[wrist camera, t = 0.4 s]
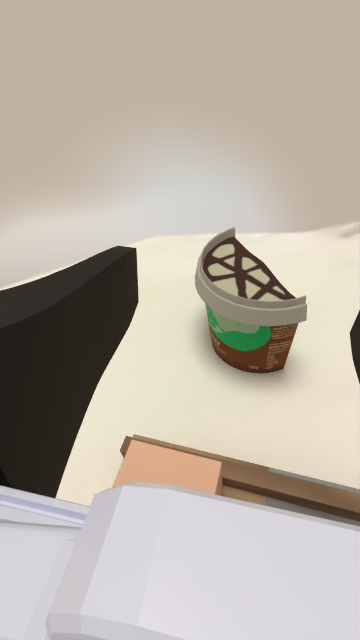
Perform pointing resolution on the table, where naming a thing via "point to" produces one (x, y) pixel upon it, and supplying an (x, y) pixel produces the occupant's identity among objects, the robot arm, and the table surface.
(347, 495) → the chute
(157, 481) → the block
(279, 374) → the table surface
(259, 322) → the food container
